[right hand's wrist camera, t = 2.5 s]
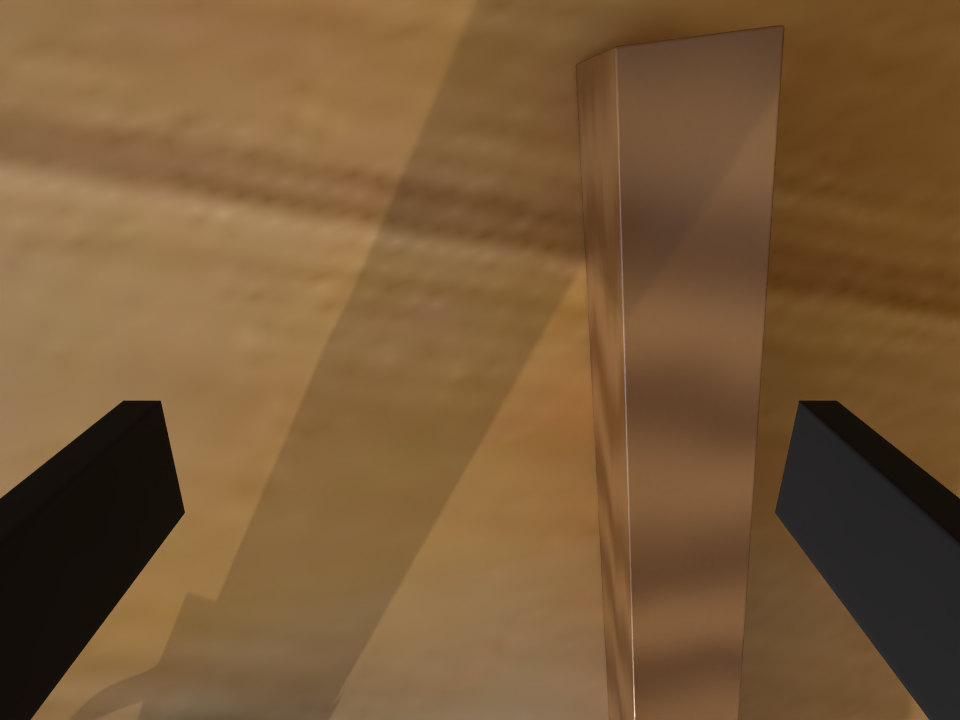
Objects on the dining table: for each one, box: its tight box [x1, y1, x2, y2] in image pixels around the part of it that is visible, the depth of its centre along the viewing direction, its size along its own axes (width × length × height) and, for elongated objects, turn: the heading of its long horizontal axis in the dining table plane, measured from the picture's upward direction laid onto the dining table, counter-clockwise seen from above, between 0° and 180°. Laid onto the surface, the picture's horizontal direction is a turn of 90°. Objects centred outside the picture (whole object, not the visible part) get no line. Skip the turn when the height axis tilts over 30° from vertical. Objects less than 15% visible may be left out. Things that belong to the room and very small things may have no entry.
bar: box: [576, 25, 784, 720], centre depth 34 cm, size 66×5×8 cm, turn 7°
